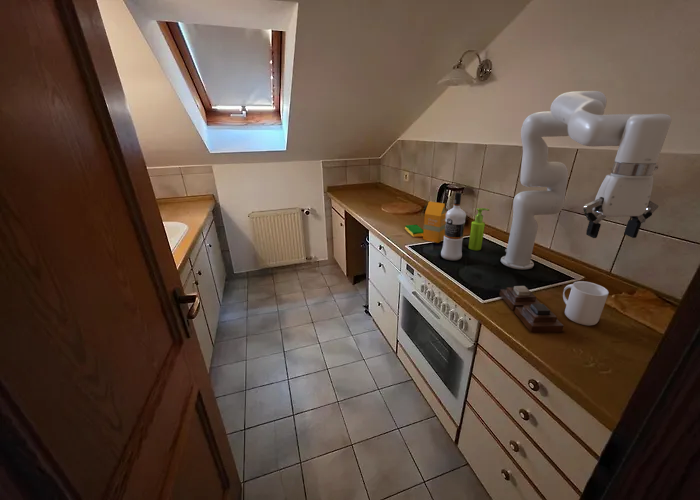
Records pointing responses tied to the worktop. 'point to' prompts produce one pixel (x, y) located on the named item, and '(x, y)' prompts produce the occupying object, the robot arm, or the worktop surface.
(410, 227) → the dish sponge
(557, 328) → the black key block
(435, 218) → the orange juice
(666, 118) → the robot arm
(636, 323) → the worktop surface
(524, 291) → the key ivory
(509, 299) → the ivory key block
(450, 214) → the vodka
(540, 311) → the key black
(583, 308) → the mug
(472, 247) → the soap dispenser
